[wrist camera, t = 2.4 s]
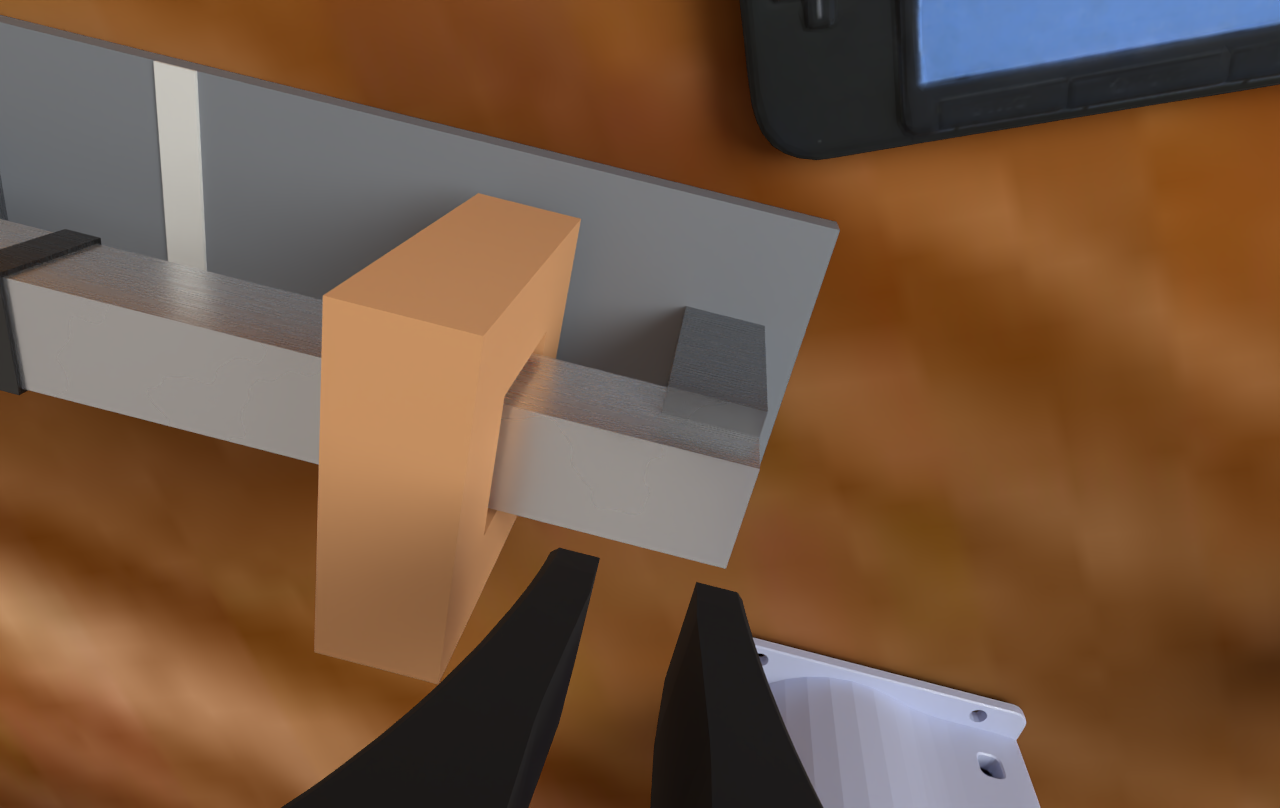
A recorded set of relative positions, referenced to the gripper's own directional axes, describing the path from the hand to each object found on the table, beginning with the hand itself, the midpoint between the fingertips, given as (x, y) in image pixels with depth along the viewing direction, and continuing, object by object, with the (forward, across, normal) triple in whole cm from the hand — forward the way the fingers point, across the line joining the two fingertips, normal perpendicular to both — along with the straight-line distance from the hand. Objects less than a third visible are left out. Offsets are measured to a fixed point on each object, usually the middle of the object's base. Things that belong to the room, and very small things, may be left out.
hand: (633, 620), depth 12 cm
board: (+10, +9, 0) cm, 14 cm away
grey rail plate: (+10, +9, 0) cm, 14 cm away
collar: (+9, +4, 0) cm, 10 cm away
